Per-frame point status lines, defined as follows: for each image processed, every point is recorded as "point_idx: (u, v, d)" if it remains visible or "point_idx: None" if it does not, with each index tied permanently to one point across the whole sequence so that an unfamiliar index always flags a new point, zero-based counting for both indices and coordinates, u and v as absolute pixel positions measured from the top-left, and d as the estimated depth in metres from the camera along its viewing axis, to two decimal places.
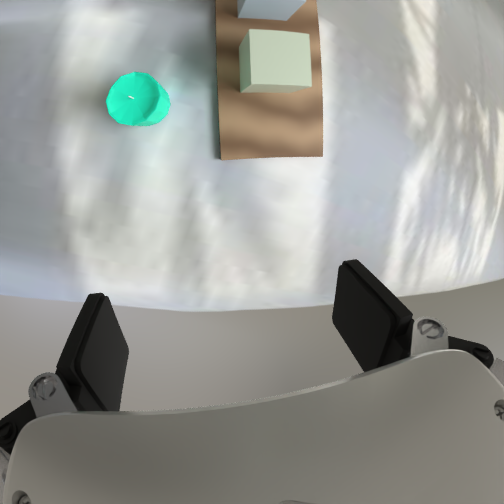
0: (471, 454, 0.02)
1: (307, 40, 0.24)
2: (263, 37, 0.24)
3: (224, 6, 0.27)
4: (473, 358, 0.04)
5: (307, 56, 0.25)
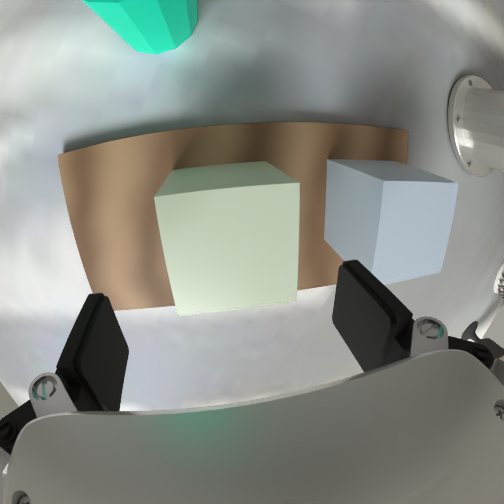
0: (471, 454, 0.02)
1: (281, 299, 0.16)
2: (277, 213, 0.14)
3: (351, 138, 0.20)
4: (473, 358, 0.04)
5: (243, 303, 0.16)
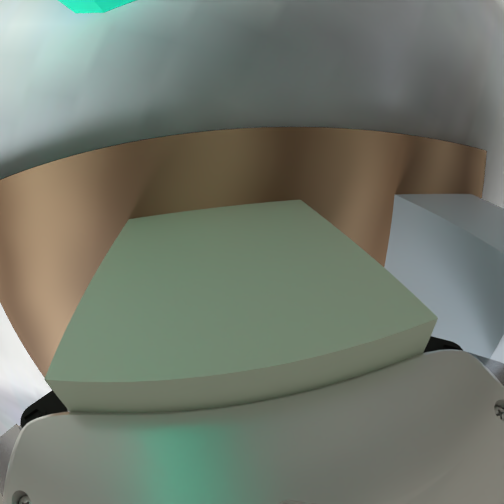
0: (471, 454, 0.02)
1: None
2: None
3: (427, 160, 0.12)
4: (473, 358, 0.04)
5: None
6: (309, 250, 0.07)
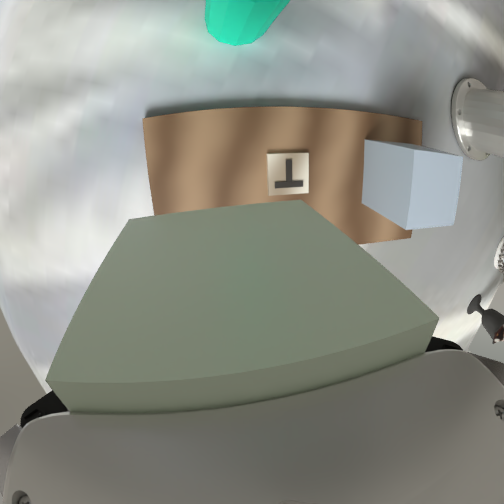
0: (471, 454, 0.02)
1: None
2: None
3: (381, 124, 0.25)
4: (473, 358, 0.04)
5: None
6: (310, 250, 0.07)
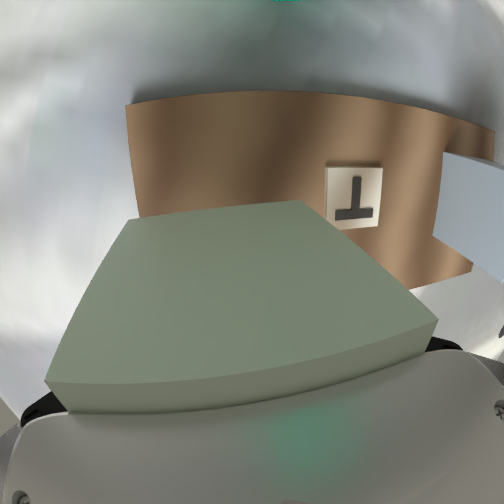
0: (471, 454, 0.02)
1: None
2: None
3: (460, 133, 0.16)
4: (473, 358, 0.04)
5: None
6: (309, 251, 0.07)
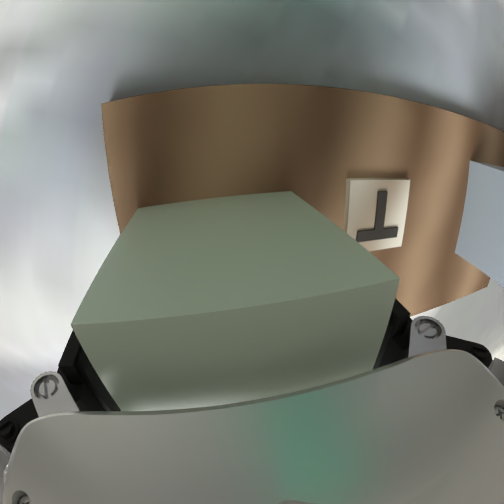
0: (471, 454, 0.02)
1: None
2: (347, 341, 0.06)
3: (485, 139, 0.13)
4: (473, 358, 0.04)
5: None
6: (294, 229, 0.08)
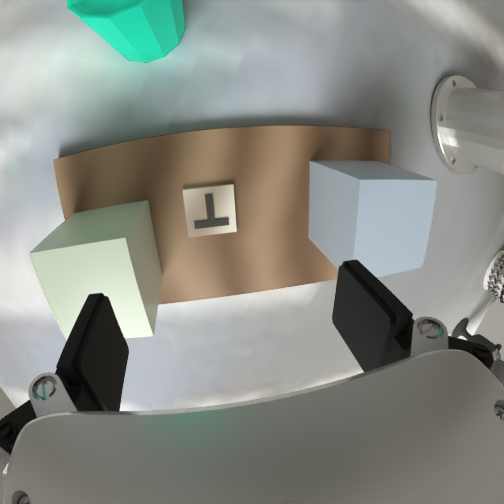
0: (471, 454, 0.02)
1: (139, 334, 0.17)
2: (113, 264, 0.14)
3: (333, 140, 0.22)
4: (473, 358, 0.04)
5: None
6: (117, 221, 0.17)
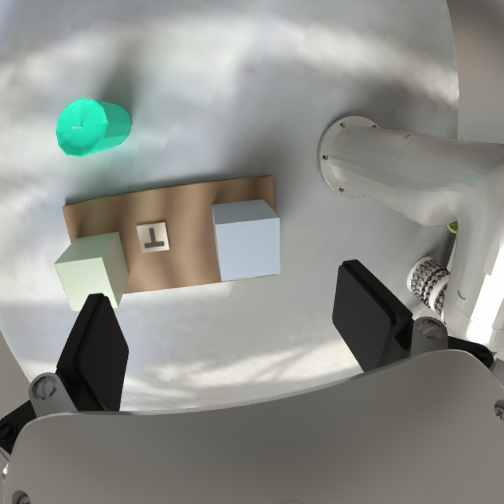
0: (471, 454, 0.02)
1: None
2: (96, 269, 0.29)
3: (227, 189, 0.36)
4: (473, 358, 0.04)
5: None
6: (99, 246, 0.31)
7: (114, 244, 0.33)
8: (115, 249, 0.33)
